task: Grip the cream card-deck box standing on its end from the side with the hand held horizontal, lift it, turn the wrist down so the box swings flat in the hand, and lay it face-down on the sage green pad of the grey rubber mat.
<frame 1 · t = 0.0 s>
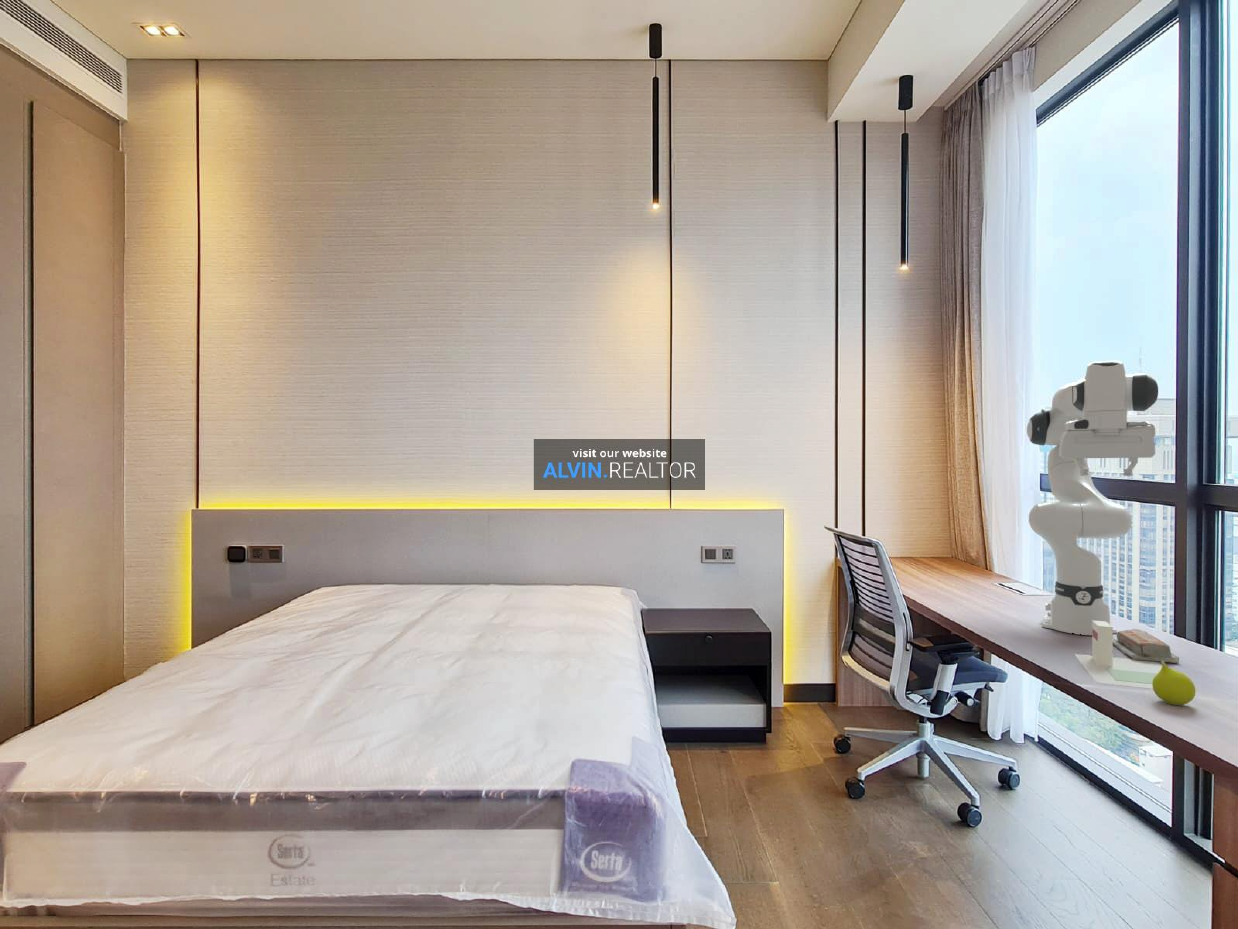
hand: (1105, 475, 172), 48 cm above the table, tool pointing down, fingers open, 8 cm apart
packaged product: (1142, 654, 176), on the table, touching mat
mat: (1128, 673, 161), on the table
yellow-green rounded piece: (1173, 704, 142), on the table
card box: (1102, 662, 168), resting on mat
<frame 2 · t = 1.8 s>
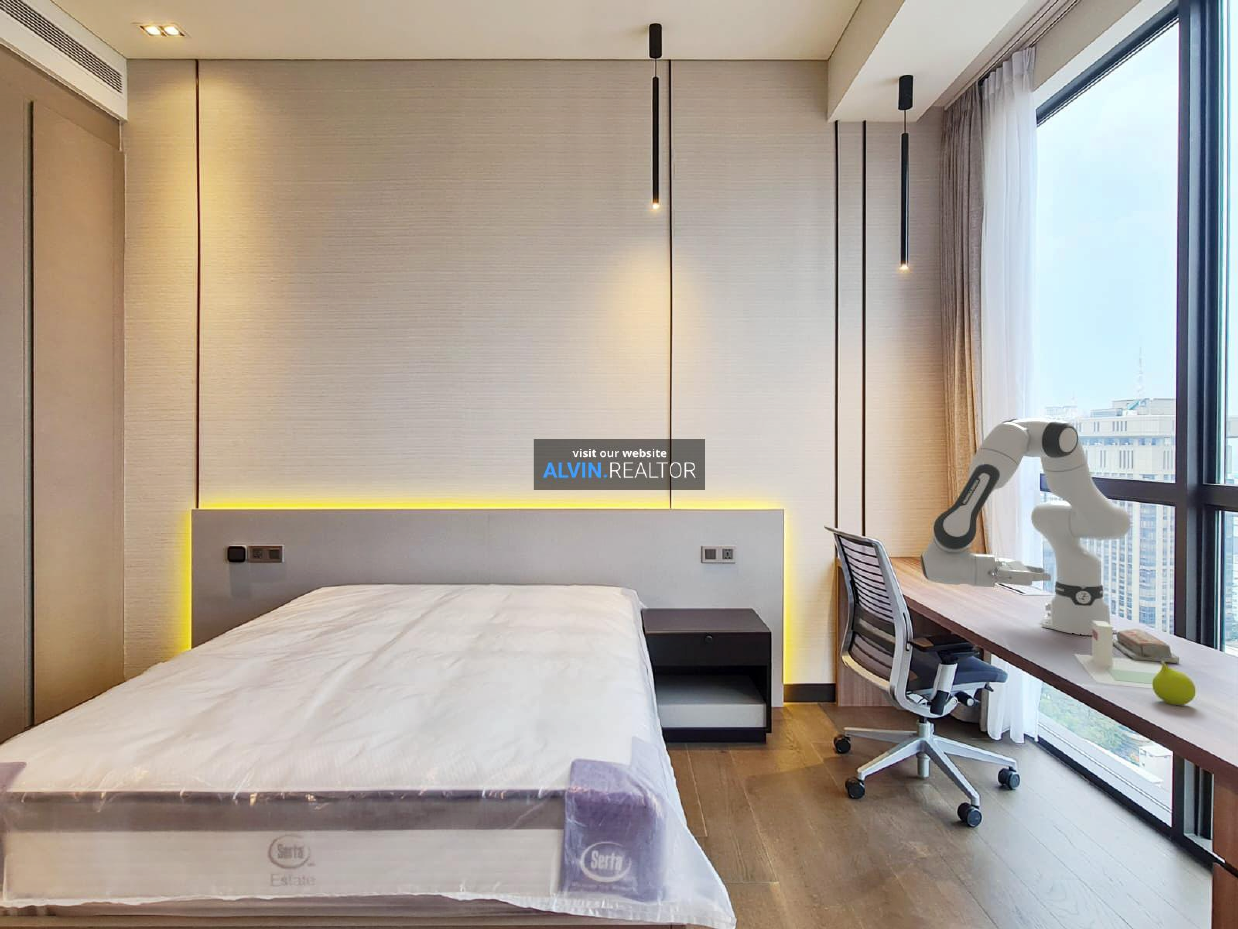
hand: (1046, 574, 173), 22 cm above the table, tool horizontal, fingers open, 8 cm apart
nothing on the table moved.
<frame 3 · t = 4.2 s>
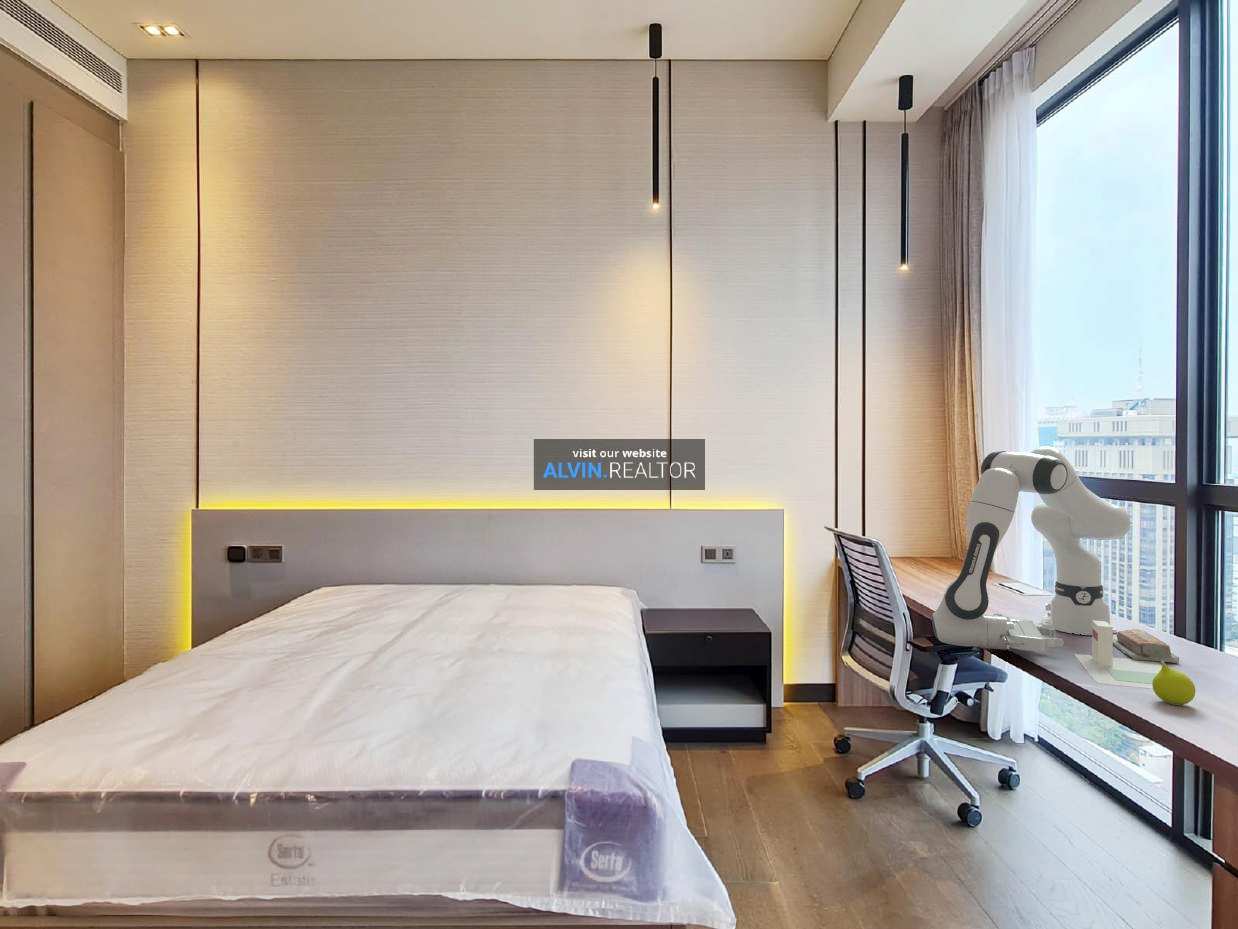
hand: (1059, 637, 172), 6 cm above the table, tool horizontal, fingers open, 8 cm apart
nothing on the table moved.
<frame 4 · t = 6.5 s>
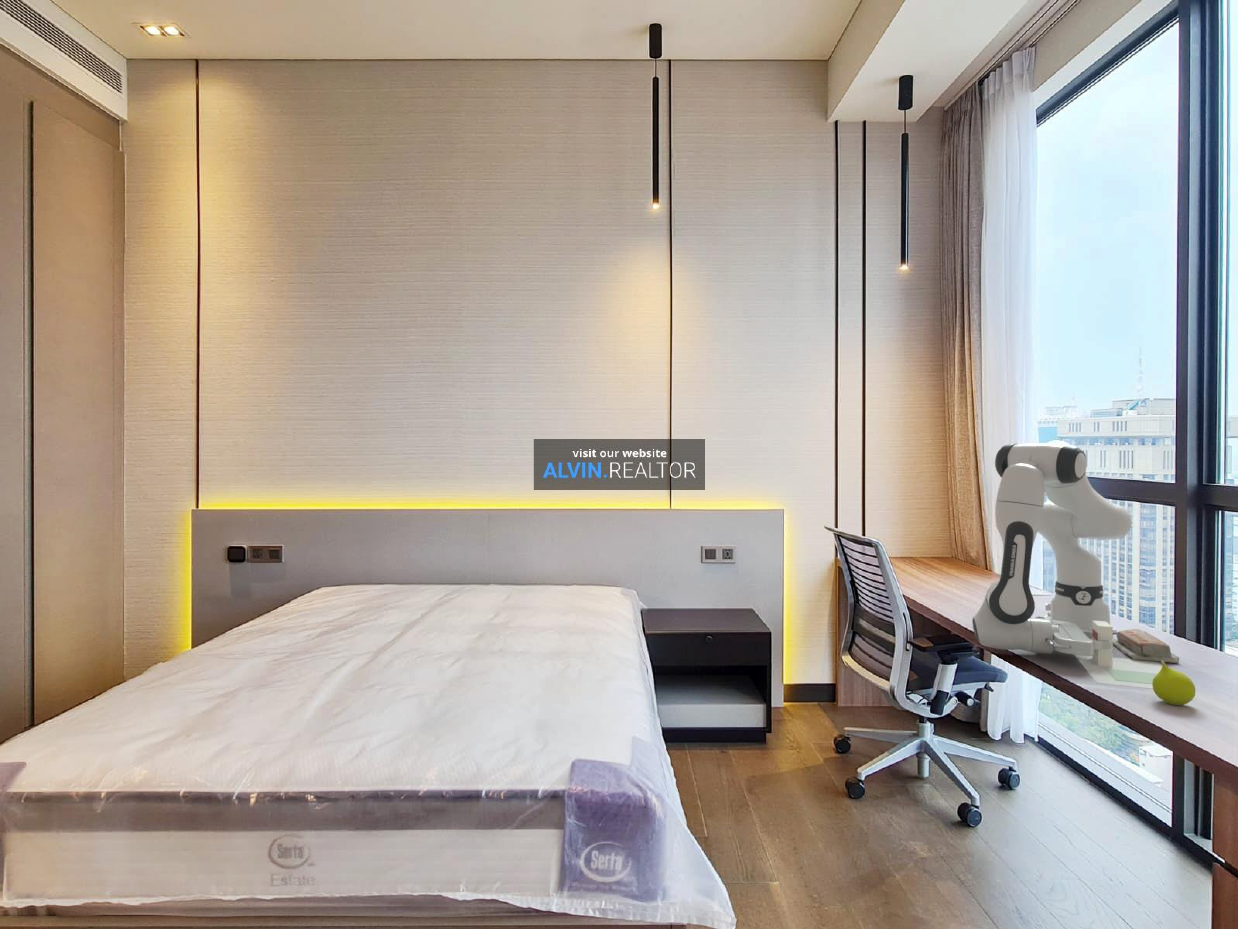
hand: (1106, 641, 168), 6 cm above the table, tool horizontal, fingers closed on card box, 6 cm apart
card box: (1102, 662, 168), resting on mat, touching gripper
everything else where it was.
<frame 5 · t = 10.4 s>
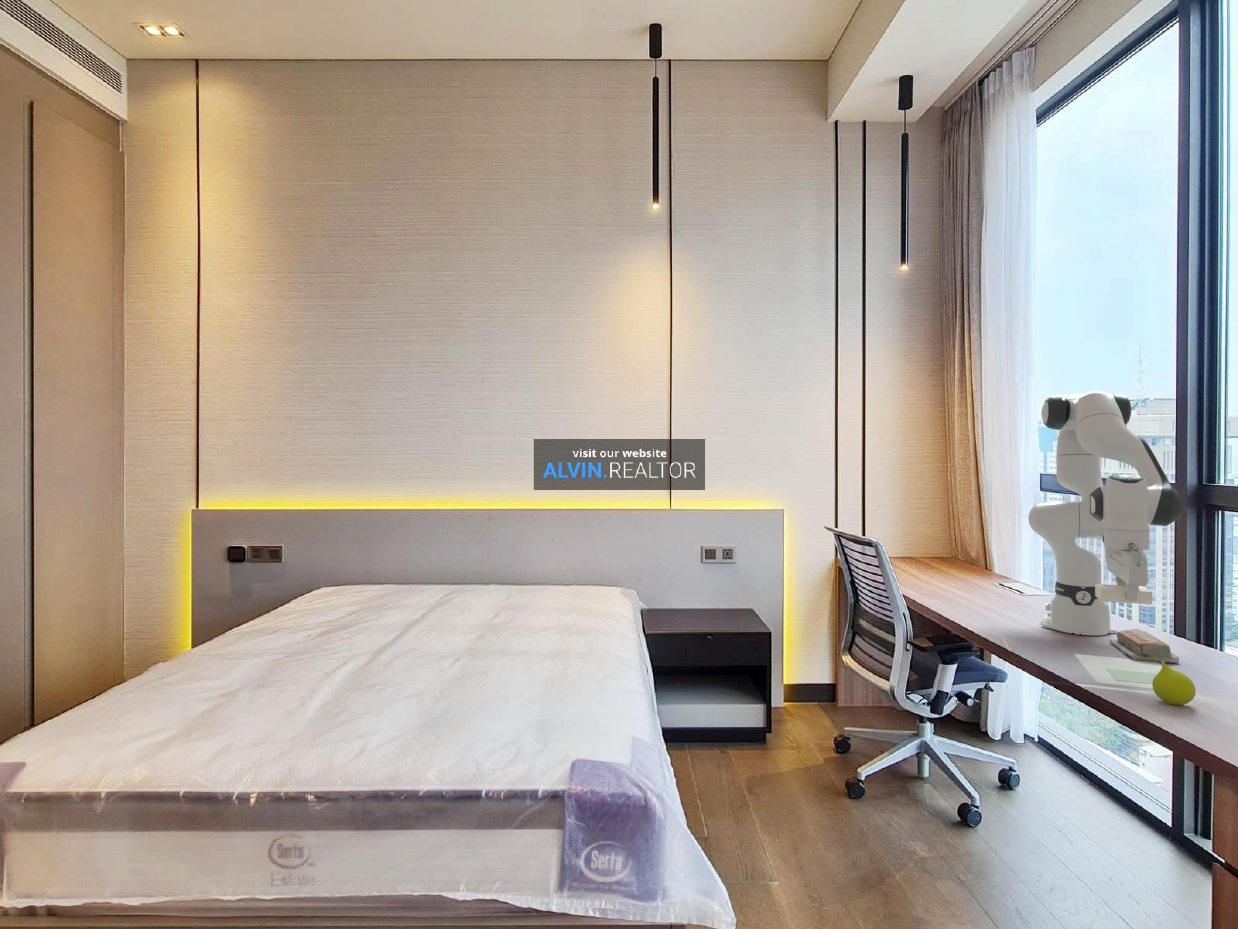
hand: (1126, 597, 161), 19 cm above the table, tool pointing down, fingers closed on card box, 6 cm apart
card box: (1098, 592, 164), point 19 cm above the table, tilted 90°, touching gripper
everything else where it was.
when the fingers open (3 cm above the table, at t = 14.5 s): card box drops 2 cm, resting on mat.
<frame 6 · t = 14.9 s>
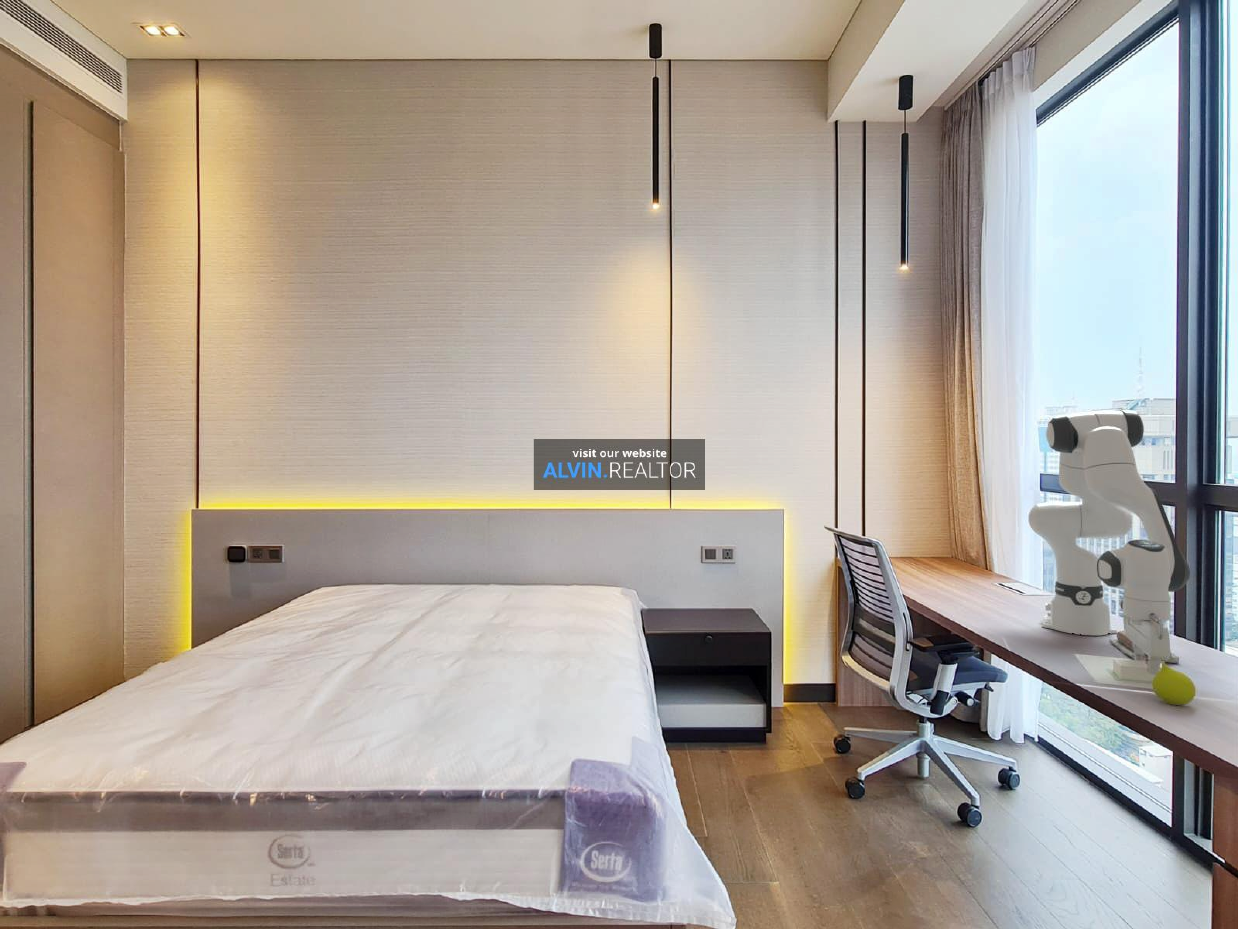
hand: (1146, 667, 157), 3 cm above the table, tool pointing down, fingers open, 8 cm apart
card box: (1116, 668, 159), point 2 cm above the table, tilted 90°, touching mat
everything else where it was.
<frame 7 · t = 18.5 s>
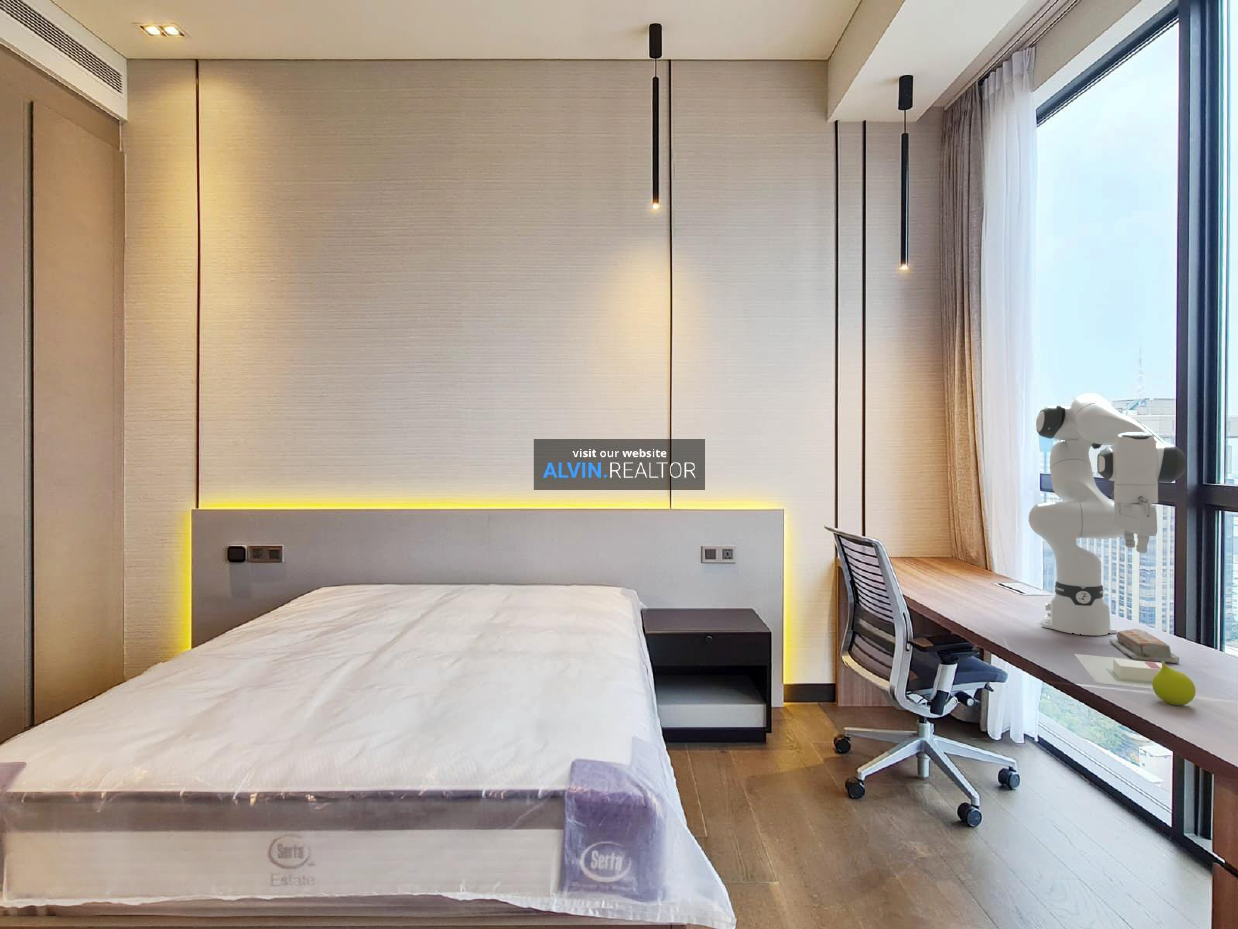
hand: (1135, 549, 168), 29 cm above the table, tool pointing down, fingers open, 8 cm apart
nothing on the table moved.
at the end: card box tilted 90°; card box inside the target area (4.3 cm from its centre), point 2.0 cm above the table; card box touching mat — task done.
